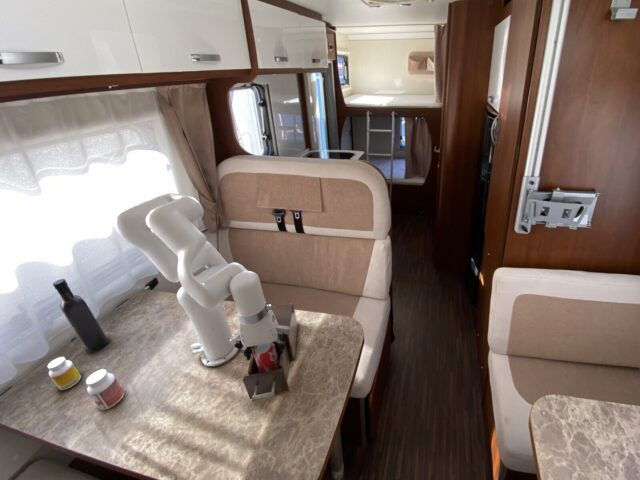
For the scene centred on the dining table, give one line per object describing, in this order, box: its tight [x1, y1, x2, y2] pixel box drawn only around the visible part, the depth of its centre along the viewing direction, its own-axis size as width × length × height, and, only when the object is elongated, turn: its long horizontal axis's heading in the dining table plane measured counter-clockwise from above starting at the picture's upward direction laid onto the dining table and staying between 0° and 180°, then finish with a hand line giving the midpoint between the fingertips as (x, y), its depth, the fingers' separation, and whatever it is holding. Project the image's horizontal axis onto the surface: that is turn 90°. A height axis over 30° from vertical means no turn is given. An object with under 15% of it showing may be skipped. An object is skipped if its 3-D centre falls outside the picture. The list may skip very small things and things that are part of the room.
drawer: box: [242, 339, 291, 403], centre depth 94 cm, size 19×11×9 cm, turn 11°
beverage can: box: [254, 342, 280, 373], centre depth 94 cm, size 6×6×12 cm
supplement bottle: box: [47, 356, 82, 391], centre depth 98 cm, size 5×5×10 cm
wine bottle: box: [52, 278, 109, 353], centre depth 107 cm, size 6×6×30 cm
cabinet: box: [250, 302, 299, 361], centre depth 107 cm, size 16×13×11 cm
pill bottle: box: [85, 368, 125, 411], centre depth 91 cm, size 6×6×11 cm
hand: (266, 353), depth 93 cm, fingers open, 9 cm apart
